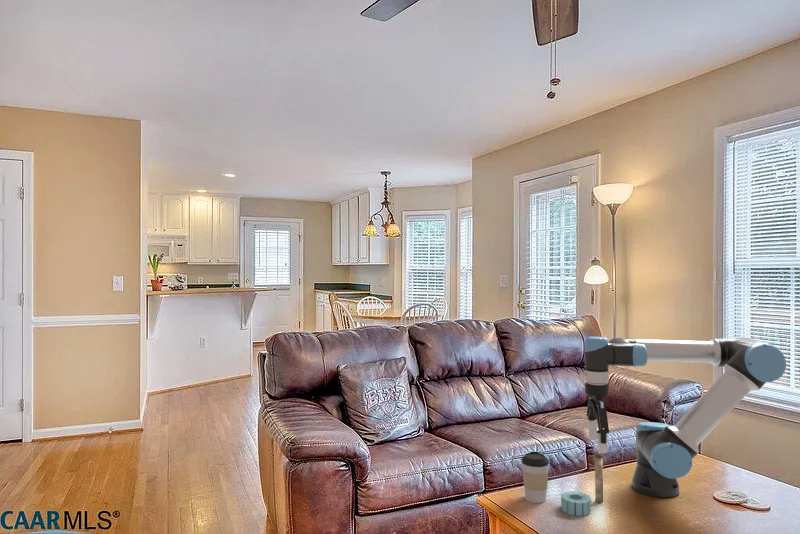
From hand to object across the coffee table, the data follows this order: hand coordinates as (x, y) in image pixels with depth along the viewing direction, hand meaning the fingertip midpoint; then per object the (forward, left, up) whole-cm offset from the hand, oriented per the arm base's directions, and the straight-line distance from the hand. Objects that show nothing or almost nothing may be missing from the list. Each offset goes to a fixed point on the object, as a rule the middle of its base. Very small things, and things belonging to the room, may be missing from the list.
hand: (597, 445), depth 177 cm
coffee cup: (+21, 0, -19) cm, 28 cm away
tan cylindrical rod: (0, 0, -19) cm, 19 cm away
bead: (+9, +7, -19) cm, 22 cm away
